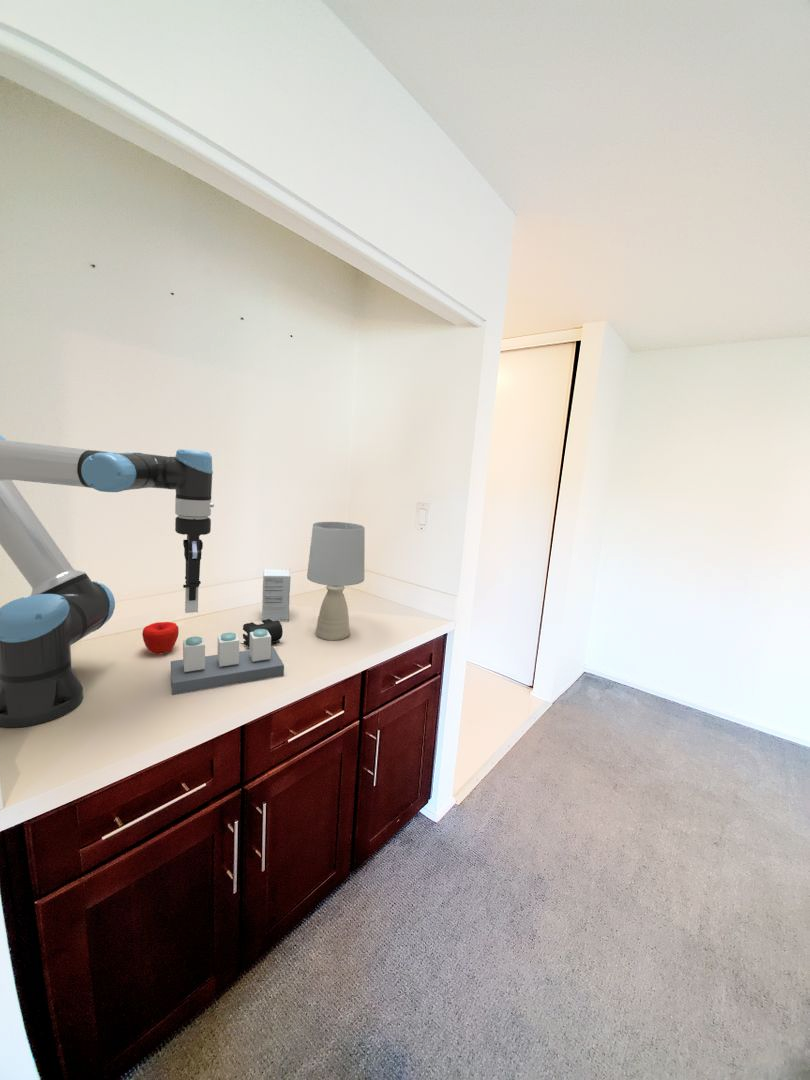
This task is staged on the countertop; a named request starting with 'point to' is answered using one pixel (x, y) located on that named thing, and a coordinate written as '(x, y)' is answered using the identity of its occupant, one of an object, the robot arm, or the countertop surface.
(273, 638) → the end cap
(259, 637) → the button far
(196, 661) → the button near
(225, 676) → the mount
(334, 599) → the lamp
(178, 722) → the countertop surface
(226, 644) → the button mid
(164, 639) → the apple
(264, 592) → the supplement box
